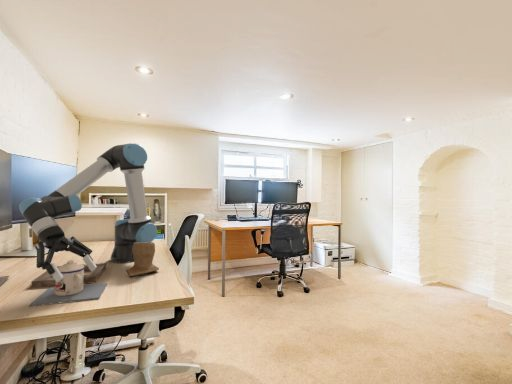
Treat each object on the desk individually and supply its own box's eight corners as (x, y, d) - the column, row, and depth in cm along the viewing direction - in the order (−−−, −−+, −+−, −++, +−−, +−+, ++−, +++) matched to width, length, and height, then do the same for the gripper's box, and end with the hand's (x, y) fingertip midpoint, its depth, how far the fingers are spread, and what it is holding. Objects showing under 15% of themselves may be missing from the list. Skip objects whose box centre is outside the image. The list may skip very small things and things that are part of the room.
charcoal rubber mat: (107, 284, 107) (107, 282, 107) (98, 299, 92) (99, 297, 92) (48, 289, 100) (48, 287, 100) (29, 306, 85) (29, 304, 85)
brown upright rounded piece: (149, 267, 133) (150, 238, 133) (162, 272, 125) (163, 241, 125) (119, 273, 121) (120, 242, 121) (130, 279, 114) (131, 245, 114)
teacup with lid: (48, 293, 94) (50, 261, 95) (76, 286, 102) (77, 256, 103) (65, 300, 89) (67, 266, 89) (93, 292, 97) (94, 261, 97)
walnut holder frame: (105, 268, 129) (106, 263, 129) (95, 282, 109) (95, 276, 109) (52, 271, 122) (53, 266, 122) (31, 287, 101) (31, 281, 101)
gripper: (73, 233, 112) (100, 271, 108) (5, 243, 88) (36, 292, 84) (83, 221, 111) (111, 259, 107) (17, 228, 87) (49, 277, 83)
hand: (78, 274), depth 95 cm, fingers open, 13 cm apart
